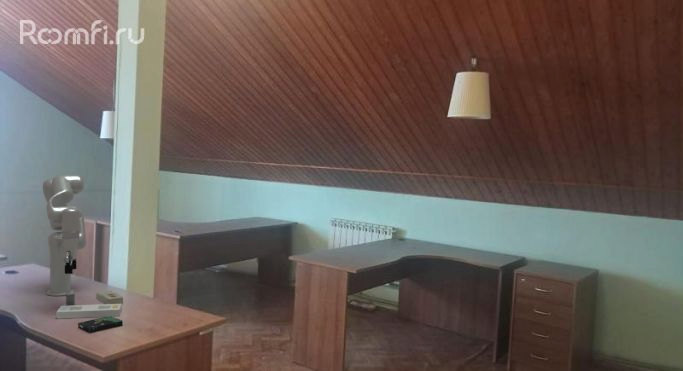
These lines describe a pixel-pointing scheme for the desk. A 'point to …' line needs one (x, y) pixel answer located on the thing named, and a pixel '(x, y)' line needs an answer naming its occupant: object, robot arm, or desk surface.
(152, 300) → the desk surface
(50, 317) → the desk surface
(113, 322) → the disk drive
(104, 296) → the electrical outlet
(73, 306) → the white device panel
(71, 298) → the plug
